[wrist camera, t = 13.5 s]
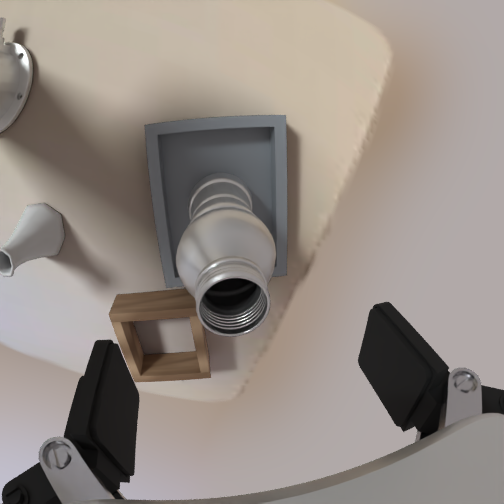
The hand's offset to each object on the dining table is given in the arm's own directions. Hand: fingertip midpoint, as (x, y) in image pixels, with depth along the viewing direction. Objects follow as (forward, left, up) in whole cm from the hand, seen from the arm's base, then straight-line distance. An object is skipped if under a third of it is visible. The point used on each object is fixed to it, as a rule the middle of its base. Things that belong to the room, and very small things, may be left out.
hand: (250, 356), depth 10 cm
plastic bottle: (0, 0, -24) cm, 24 cm away
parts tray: (0, 0, -25) cm, 25 cm away
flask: (+1, -23, -25) cm, 34 cm away
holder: (+17, -9, -25) cm, 32 cm away
